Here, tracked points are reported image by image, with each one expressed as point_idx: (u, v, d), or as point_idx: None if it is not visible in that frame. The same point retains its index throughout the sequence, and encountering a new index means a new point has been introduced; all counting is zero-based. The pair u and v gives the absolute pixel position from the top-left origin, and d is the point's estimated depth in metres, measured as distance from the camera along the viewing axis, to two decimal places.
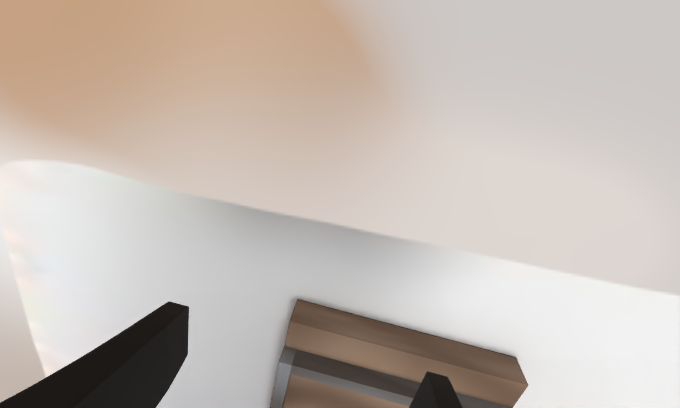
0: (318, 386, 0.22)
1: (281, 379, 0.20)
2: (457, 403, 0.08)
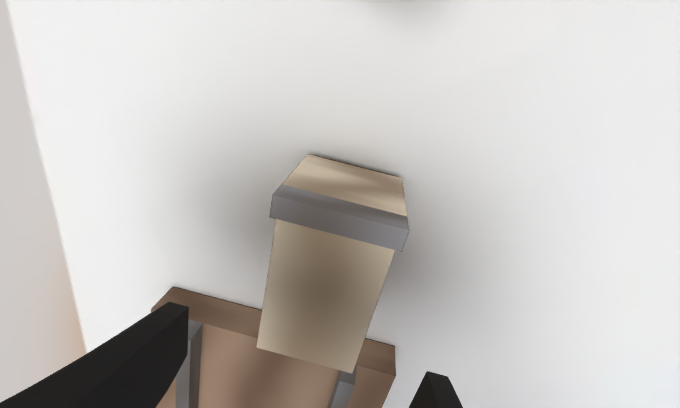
0: None
1: None
2: (457, 403, 0.08)
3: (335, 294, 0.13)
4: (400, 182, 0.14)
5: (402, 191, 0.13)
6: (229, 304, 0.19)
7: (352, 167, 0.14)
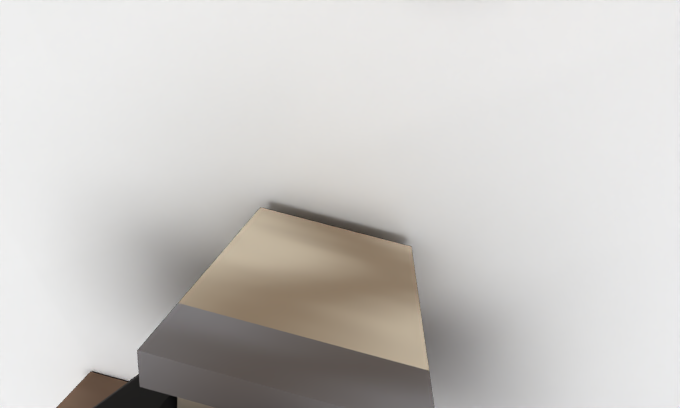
0: None
1: None
2: None
3: None
4: (409, 258, 0.08)
5: (414, 283, 0.07)
6: None
7: (331, 230, 0.09)
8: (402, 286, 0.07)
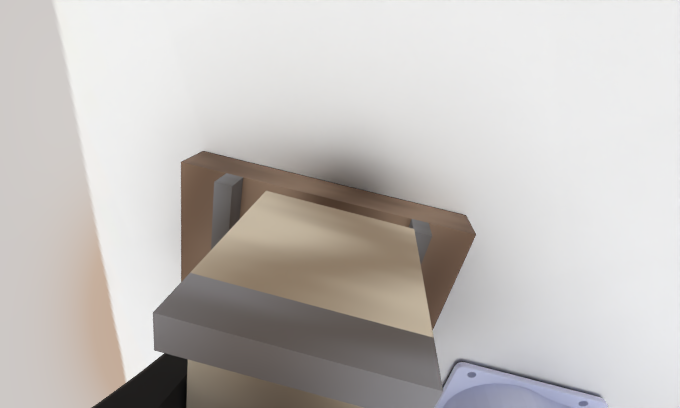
0: None
1: None
2: None
3: None
4: (413, 239, 0.09)
5: (418, 261, 0.08)
6: (270, 168, 0.17)
7: (336, 213, 0.09)
8: (406, 263, 0.07)
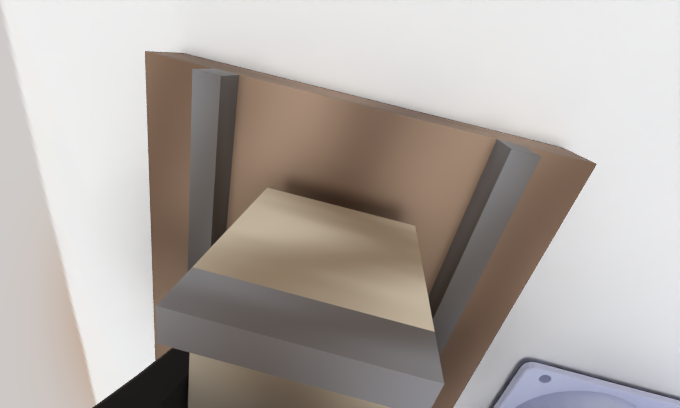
0: None
1: None
2: None
3: None
4: (413, 236, 0.09)
5: (419, 257, 0.08)
6: (279, 77, 0.11)
7: (337, 209, 0.09)
8: (407, 259, 0.07)
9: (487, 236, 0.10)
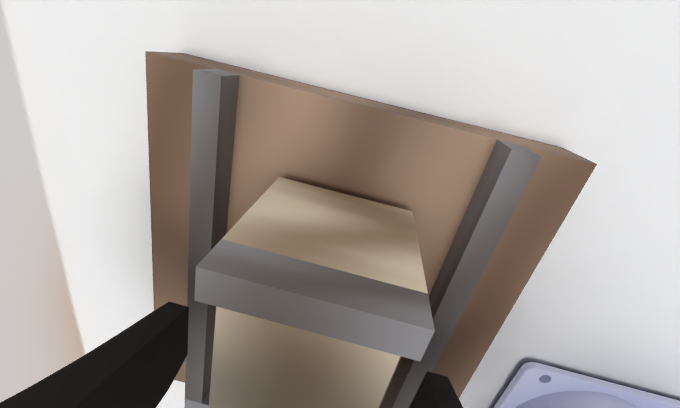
0: None
1: None
2: (457, 403, 0.08)
3: (314, 395, 0.08)
4: (411, 219, 0.10)
5: (415, 237, 0.09)
6: (279, 77, 0.11)
7: (342, 196, 0.10)
8: (405, 238, 0.08)
9: (487, 236, 0.10)
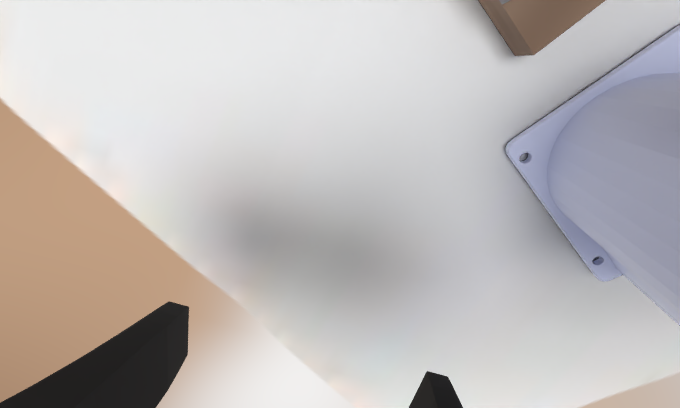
0: None
1: None
2: (457, 403, 0.08)
3: None
4: None
5: None
6: None
7: None
8: None
9: None
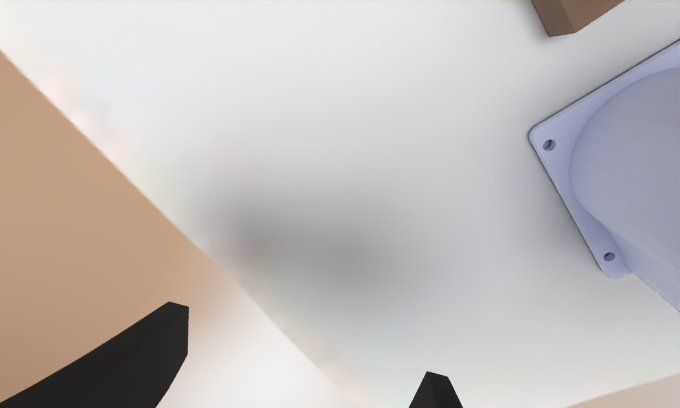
0: None
1: None
2: (457, 403, 0.08)
3: None
4: None
5: None
6: None
7: None
8: None
9: None
